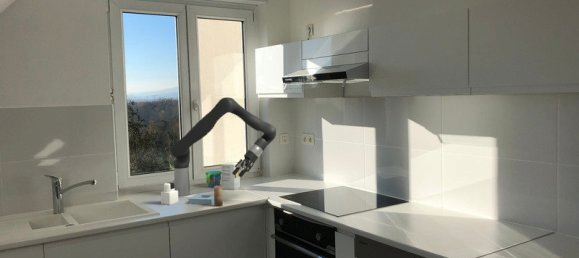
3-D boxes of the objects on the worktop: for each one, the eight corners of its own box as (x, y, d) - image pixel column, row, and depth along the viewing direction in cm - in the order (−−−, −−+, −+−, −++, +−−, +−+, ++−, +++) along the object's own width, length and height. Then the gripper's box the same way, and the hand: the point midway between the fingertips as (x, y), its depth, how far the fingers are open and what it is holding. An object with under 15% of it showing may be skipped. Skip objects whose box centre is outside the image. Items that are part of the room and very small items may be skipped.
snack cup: (214, 183, 344) (214, 169, 343) (227, 185, 339) (226, 170, 338) (200, 188, 330) (200, 173, 330) (213, 189, 325) (212, 174, 324)
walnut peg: (213, 206, 276) (212, 187, 275) (216, 204, 280) (215, 185, 280) (220, 206, 275) (220, 187, 274) (223, 204, 279) (223, 185, 279)
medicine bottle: (169, 201, 292) (168, 181, 291) (178, 202, 288) (177, 182, 287) (160, 203, 286) (160, 183, 285) (169, 205, 282) (169, 184, 281)
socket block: (188, 203, 284) (188, 198, 284) (198, 198, 298) (198, 193, 297) (211, 204, 281) (211, 199, 281) (220, 199, 294) (220, 194, 294)
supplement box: (234, 190, 321) (233, 164, 319) (221, 189, 323) (220, 164, 322) (240, 187, 330) (239, 162, 328) (227, 186, 333) (227, 162, 331)
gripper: (243, 148, 292) (226, 169, 287) (255, 150, 280) (237, 172, 275) (252, 156, 295) (235, 177, 290) (263, 159, 283) (246, 181, 278)
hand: (236, 175), depth 283 cm, fingers open, 8 cm apart
